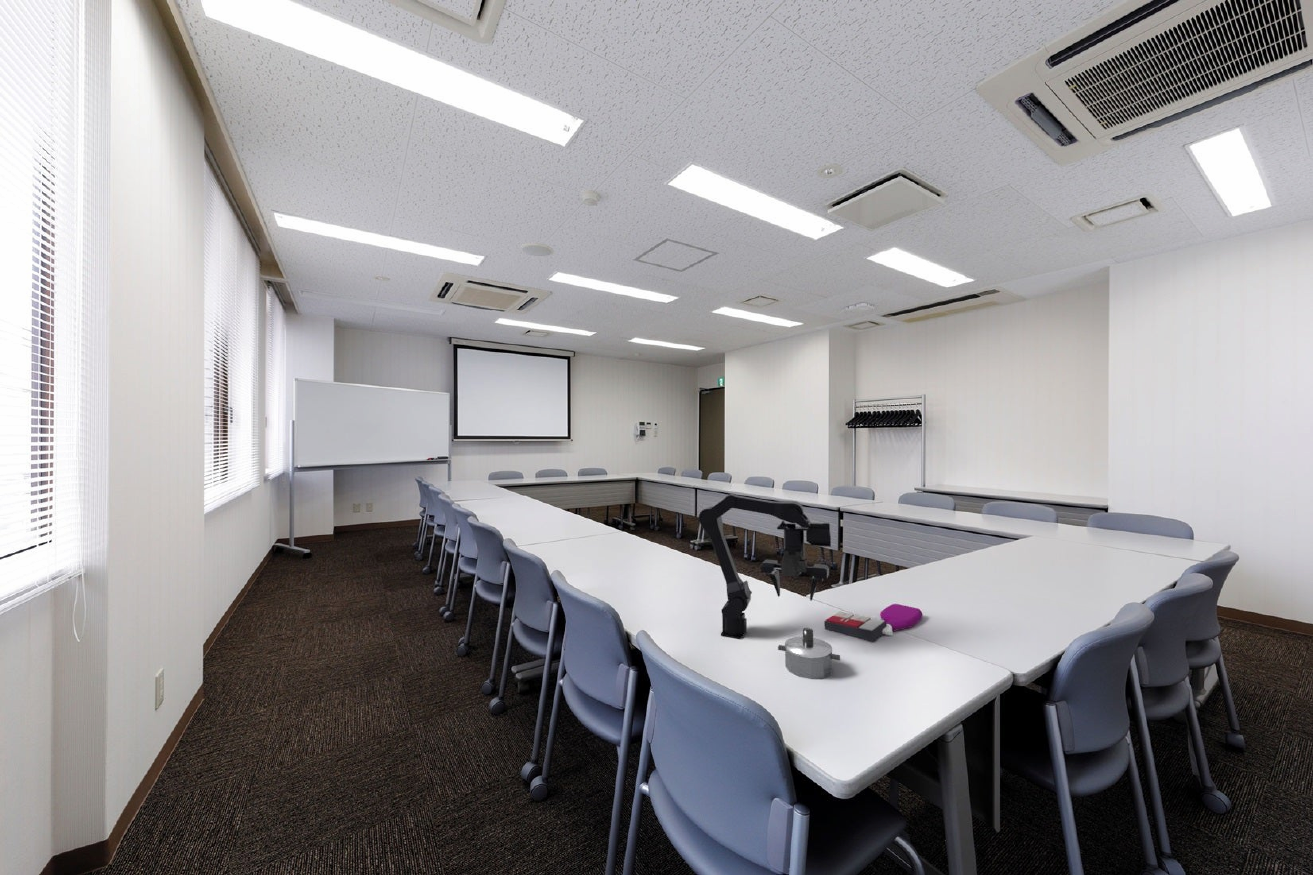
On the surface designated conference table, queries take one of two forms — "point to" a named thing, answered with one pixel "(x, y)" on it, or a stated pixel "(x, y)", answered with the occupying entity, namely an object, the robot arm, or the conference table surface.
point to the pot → (808, 665)
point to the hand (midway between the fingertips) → (794, 598)
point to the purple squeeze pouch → (899, 617)
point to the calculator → (856, 626)
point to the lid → (808, 646)
